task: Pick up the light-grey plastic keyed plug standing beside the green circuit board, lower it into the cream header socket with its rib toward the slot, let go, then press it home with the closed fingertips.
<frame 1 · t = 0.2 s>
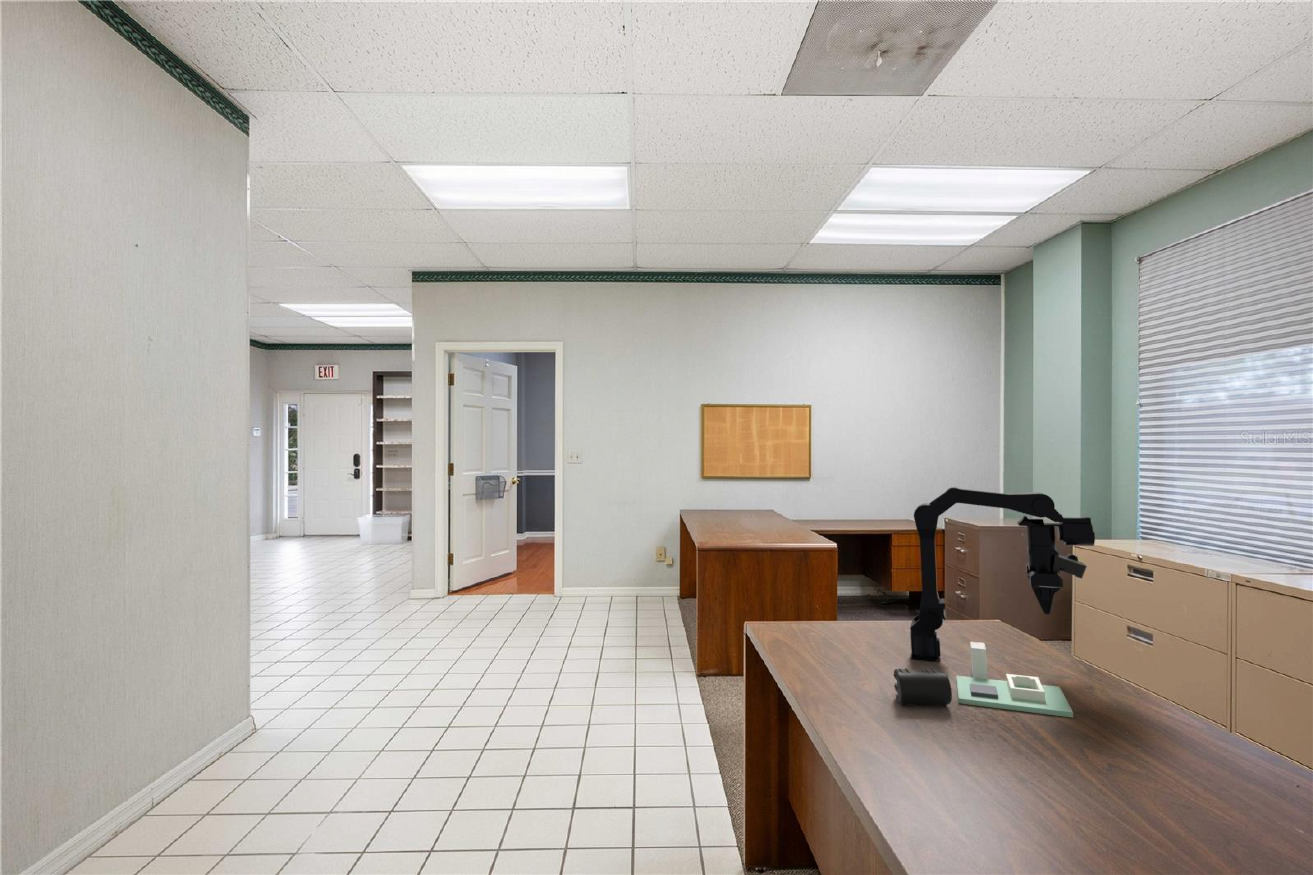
hand: (1045, 609, 140), 14 cm above the table, fingers open, 9 cm apart
board: (1010, 697, 124), on the table
plug: (979, 675, 137), on the table
end cap: (922, 705, 123), on the table
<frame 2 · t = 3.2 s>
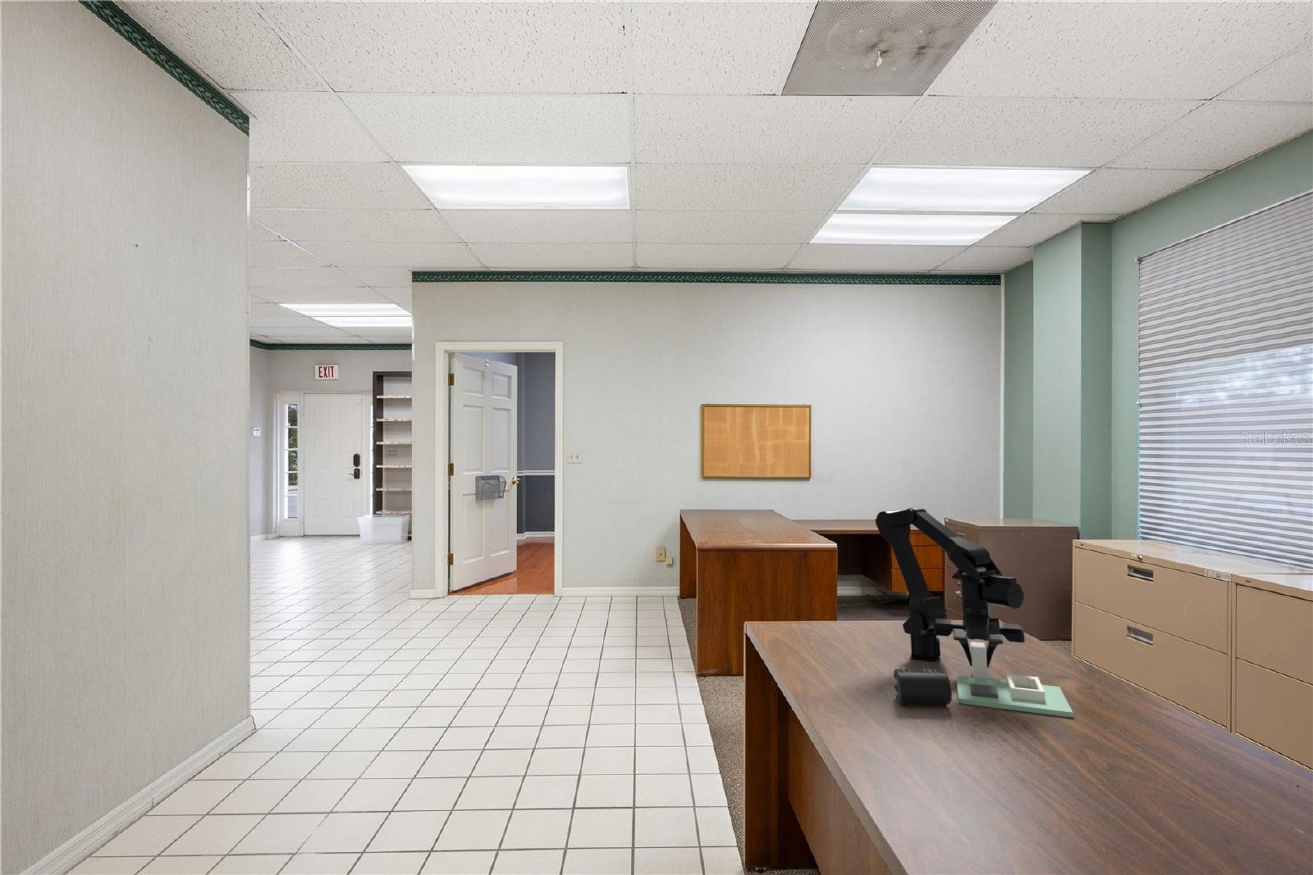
hand: (979, 666, 137), 2 cm above the table, fingers closed on plug, 3 cm apart
plug: (979, 675, 137), on the table, touching gripper
everything else where it was.
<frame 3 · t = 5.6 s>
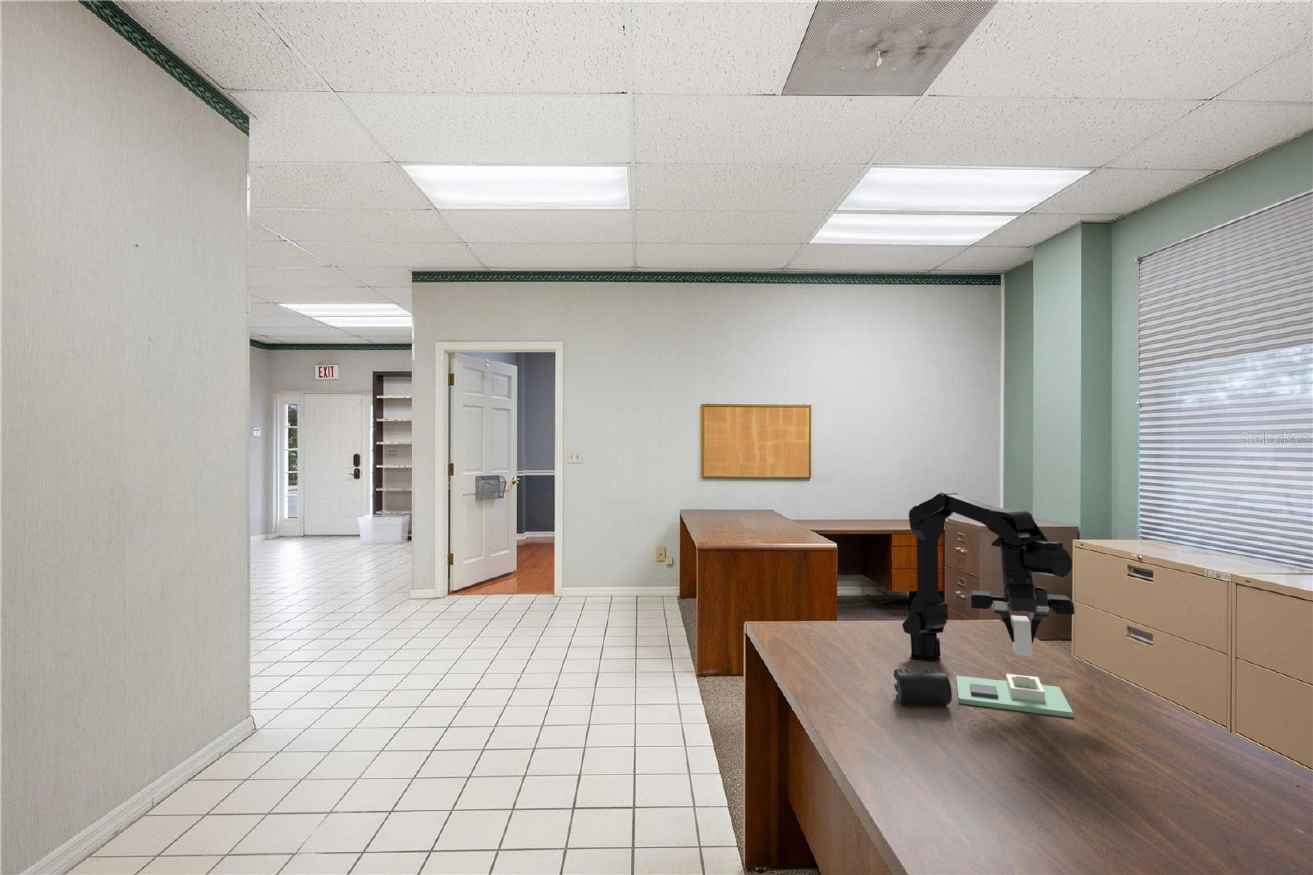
hand: (1021, 642, 124), 12 cm above the table, fingers closed on plug, 3 cm apart
plug: (1022, 651, 124), point 10 cm above the table, touching gripper
everything else where it was.
when the fingers open (4 cm above the table, at t = 8.0 s): plug stays where it is, resting on board.
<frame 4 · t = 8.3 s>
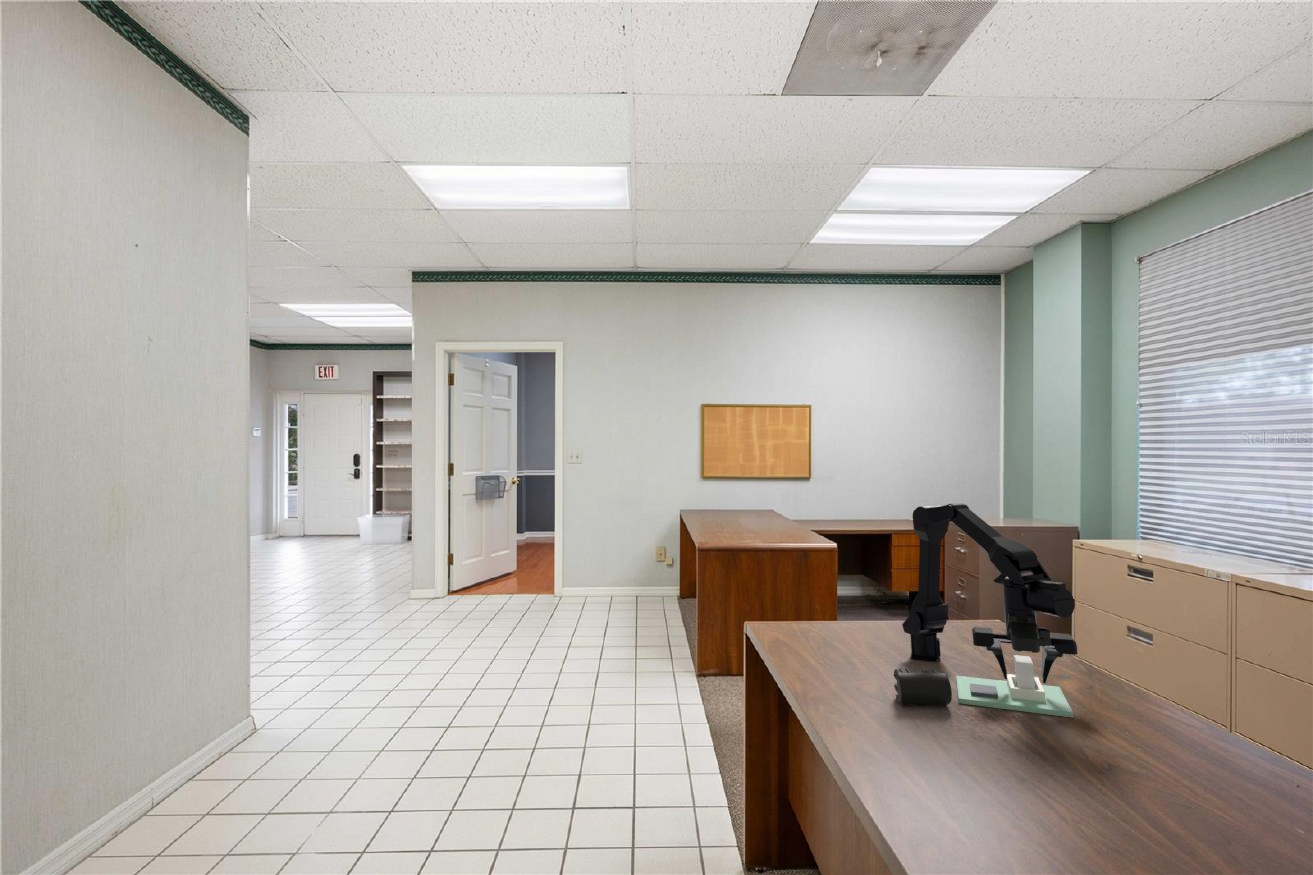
hand: (1024, 680, 124), 4 cm above the table, fingers open, 7 cm apart
plug: (1025, 692, 124), point 1 cm above the table, touching board
everything else where it was.
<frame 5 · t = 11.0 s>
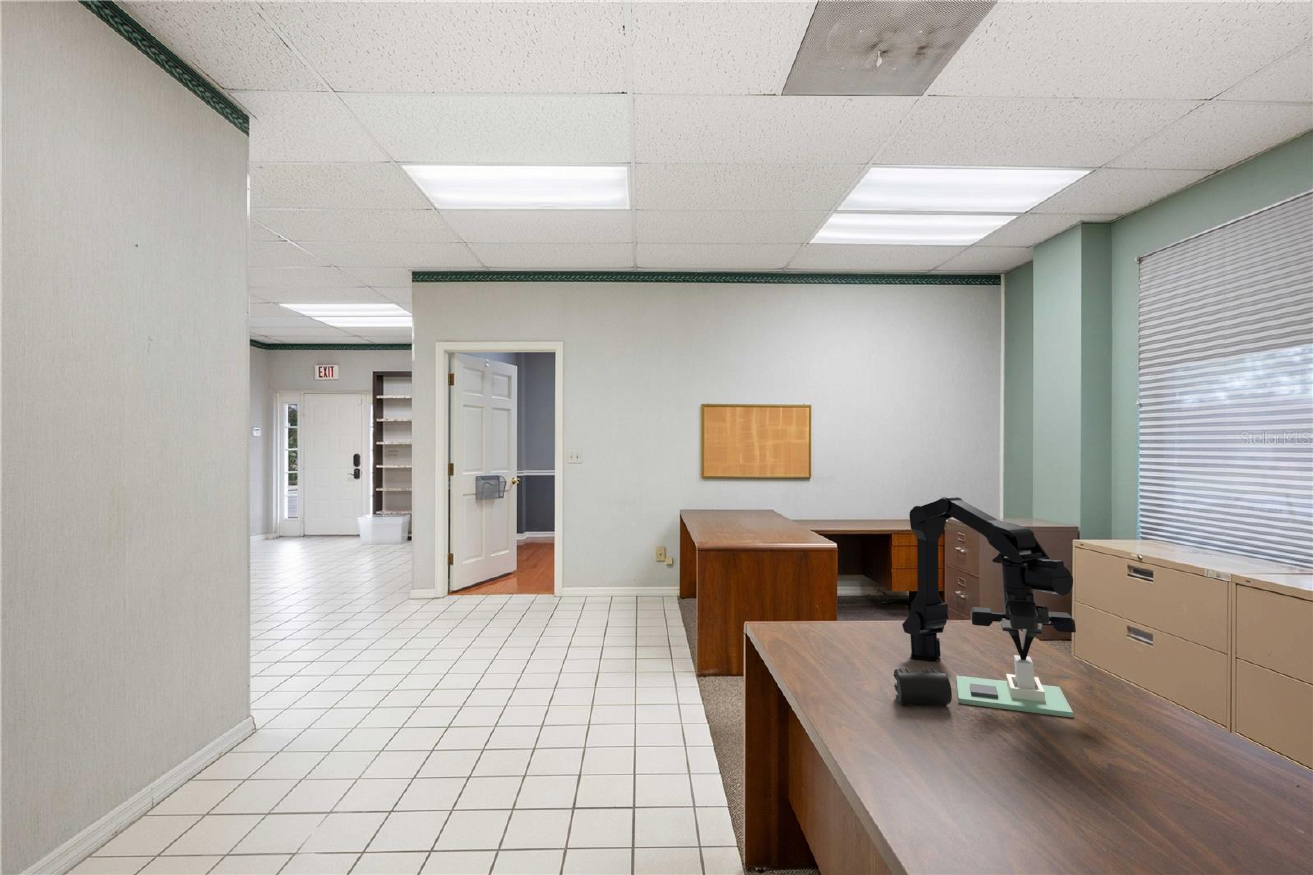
hand: (1023, 659, 124), 8 cm above the table, fingers closed, pressing on plug
plug: (1025, 692, 124), point 1 cm above the table, touching board, gripper
everything else where it was.
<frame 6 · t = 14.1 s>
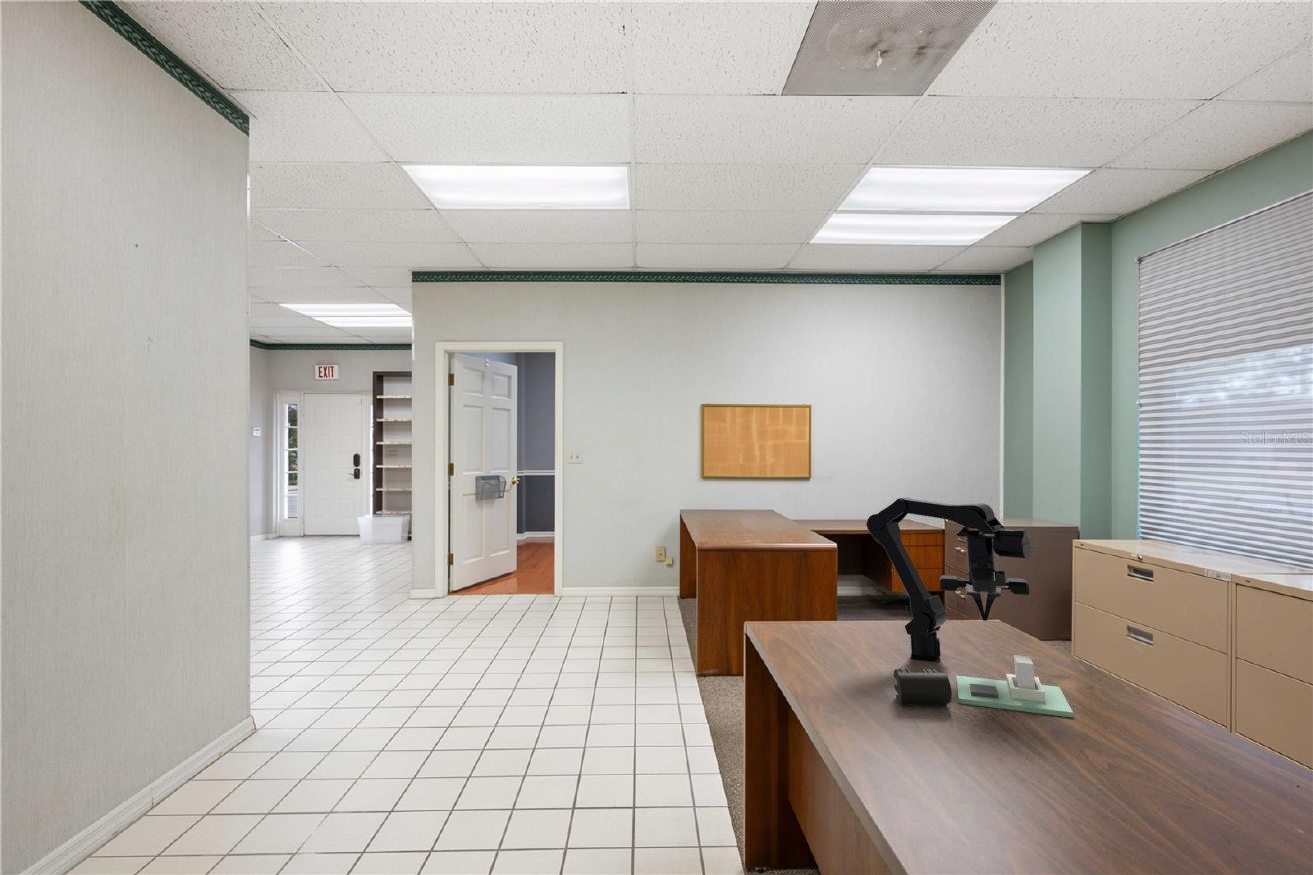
hand: (984, 620, 141), 12 cm above the table, fingers closed
plug: (1025, 692, 124), point 1 cm above the table, touching board
everything else where it was.
at the end: plug 0.0 cm from the target spot on the board, point 1.0 cm above the board's base; plug tilted 0°; the gripper is holding nothing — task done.
